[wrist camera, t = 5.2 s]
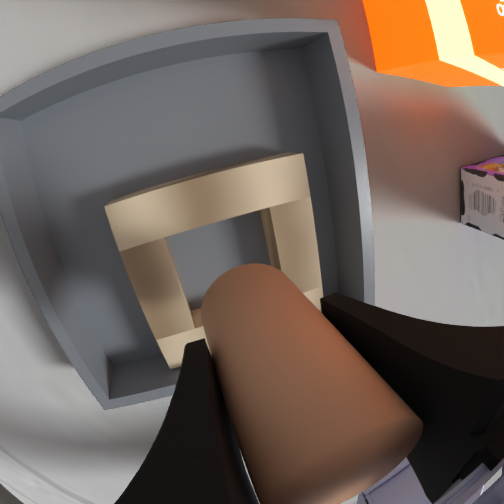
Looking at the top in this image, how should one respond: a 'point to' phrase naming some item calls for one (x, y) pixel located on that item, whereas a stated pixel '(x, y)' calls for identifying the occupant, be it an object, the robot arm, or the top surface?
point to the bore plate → (206, 212)
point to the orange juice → (439, 40)
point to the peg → (300, 393)
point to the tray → (175, 176)
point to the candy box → (484, 196)
